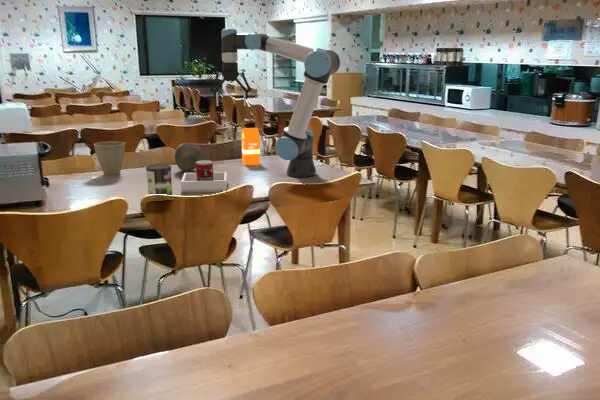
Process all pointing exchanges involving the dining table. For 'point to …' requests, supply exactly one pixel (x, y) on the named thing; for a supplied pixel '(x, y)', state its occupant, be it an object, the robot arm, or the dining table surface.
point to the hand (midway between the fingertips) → (231, 105)
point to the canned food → (204, 170)
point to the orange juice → (250, 146)
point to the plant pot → (110, 156)
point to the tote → (204, 183)
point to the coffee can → (159, 179)
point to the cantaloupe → (187, 156)
